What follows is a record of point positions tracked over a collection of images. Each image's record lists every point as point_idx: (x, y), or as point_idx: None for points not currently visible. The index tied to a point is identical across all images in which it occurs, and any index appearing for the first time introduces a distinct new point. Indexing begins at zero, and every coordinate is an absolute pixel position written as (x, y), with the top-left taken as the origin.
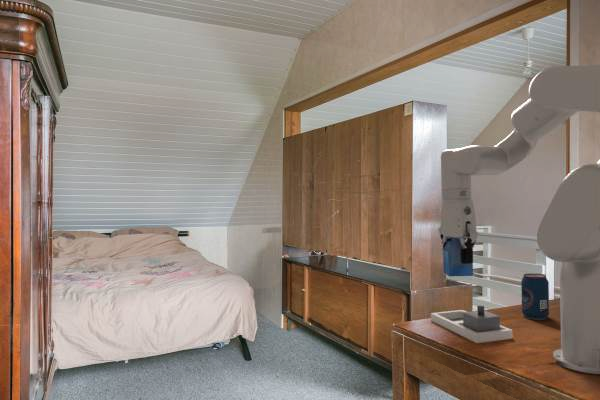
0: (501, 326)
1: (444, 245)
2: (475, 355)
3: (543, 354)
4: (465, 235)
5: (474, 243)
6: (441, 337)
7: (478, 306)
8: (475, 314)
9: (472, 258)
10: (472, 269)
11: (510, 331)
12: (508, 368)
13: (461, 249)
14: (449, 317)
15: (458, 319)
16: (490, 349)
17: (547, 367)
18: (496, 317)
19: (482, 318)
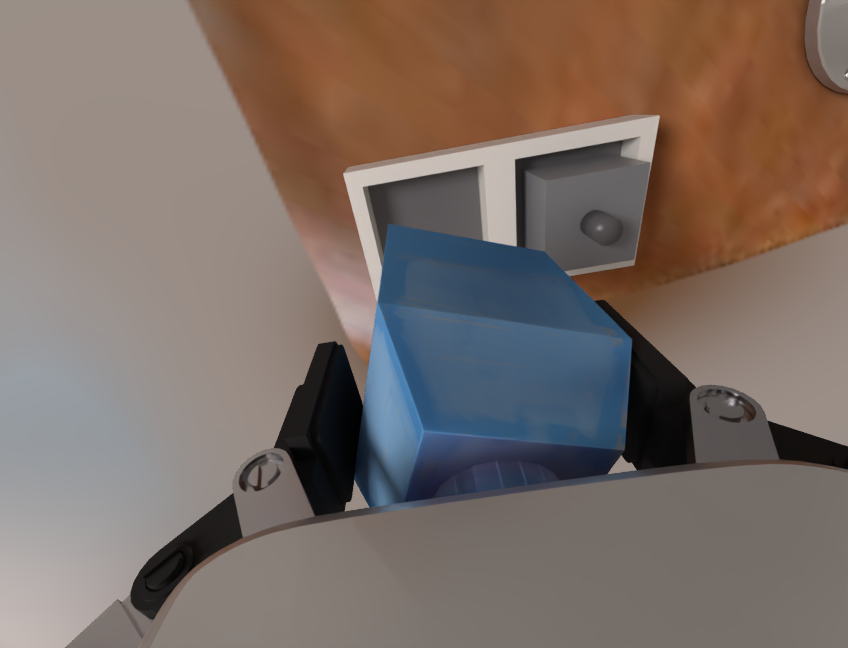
0: (605, 134)
1: (342, 504)
2: (658, 280)
3: (764, 77)
4: (487, 496)
5: (833, 445)
6: None
7: (608, 243)
8: (585, 244)
9: (620, 320)
10: (560, 271)
11: (655, 126)
12: (763, 246)
13: (642, 461)
14: (376, 236)
15: (386, 204)
16: (645, 223)
17: (828, 141)
18: (644, 177)
19: (635, 241)
